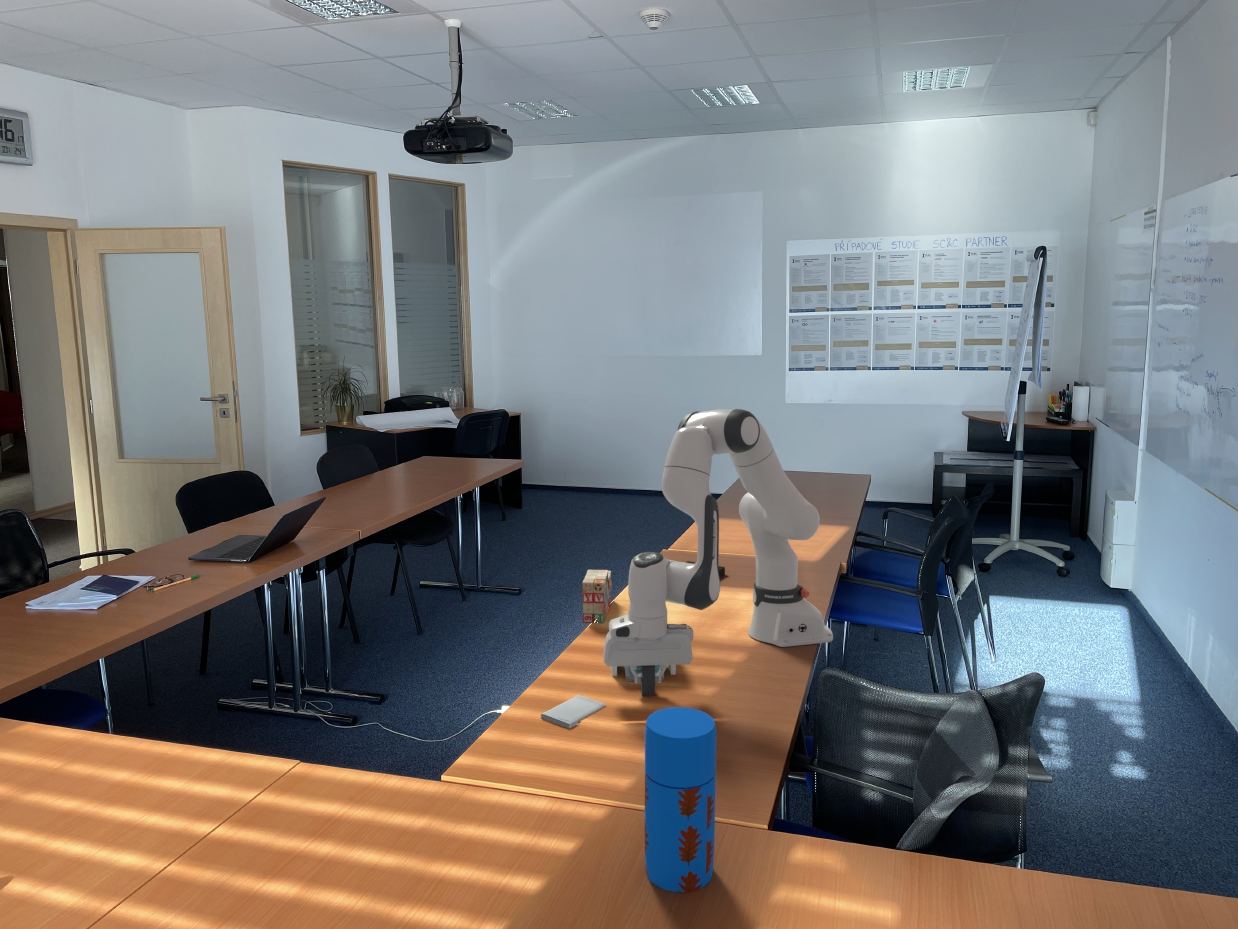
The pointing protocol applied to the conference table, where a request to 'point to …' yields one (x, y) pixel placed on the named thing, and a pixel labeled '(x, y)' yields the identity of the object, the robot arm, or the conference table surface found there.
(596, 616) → the stack of blocks
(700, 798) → the thermos
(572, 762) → the conference table surface
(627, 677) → the teal block with handle
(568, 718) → the hard drive
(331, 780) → the conference table surface
